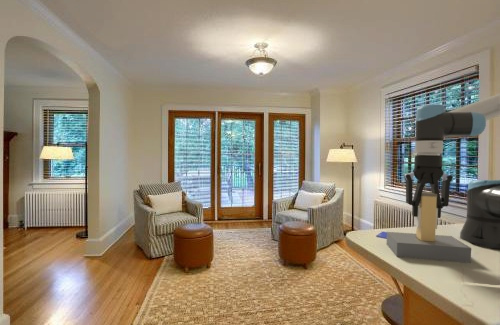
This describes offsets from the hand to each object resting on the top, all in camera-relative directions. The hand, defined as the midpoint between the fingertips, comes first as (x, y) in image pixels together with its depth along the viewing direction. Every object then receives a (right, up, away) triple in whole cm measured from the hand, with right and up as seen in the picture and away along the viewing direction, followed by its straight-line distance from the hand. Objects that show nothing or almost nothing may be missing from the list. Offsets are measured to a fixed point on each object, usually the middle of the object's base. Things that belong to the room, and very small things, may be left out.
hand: (425, 227), depth 90 cm
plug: (0, -4, 0) cm, 4 cm away
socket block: (0, -9, 0) cm, 9 cm away
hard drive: (-1, -9, +16) cm, 18 cm away
